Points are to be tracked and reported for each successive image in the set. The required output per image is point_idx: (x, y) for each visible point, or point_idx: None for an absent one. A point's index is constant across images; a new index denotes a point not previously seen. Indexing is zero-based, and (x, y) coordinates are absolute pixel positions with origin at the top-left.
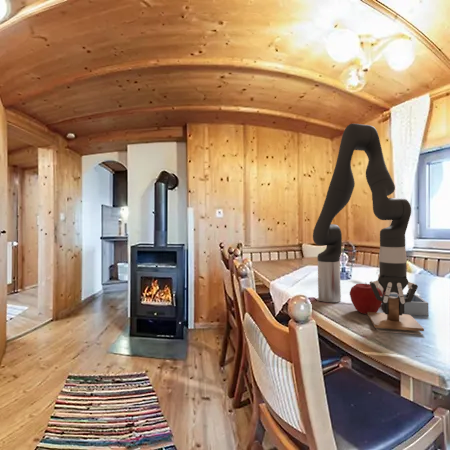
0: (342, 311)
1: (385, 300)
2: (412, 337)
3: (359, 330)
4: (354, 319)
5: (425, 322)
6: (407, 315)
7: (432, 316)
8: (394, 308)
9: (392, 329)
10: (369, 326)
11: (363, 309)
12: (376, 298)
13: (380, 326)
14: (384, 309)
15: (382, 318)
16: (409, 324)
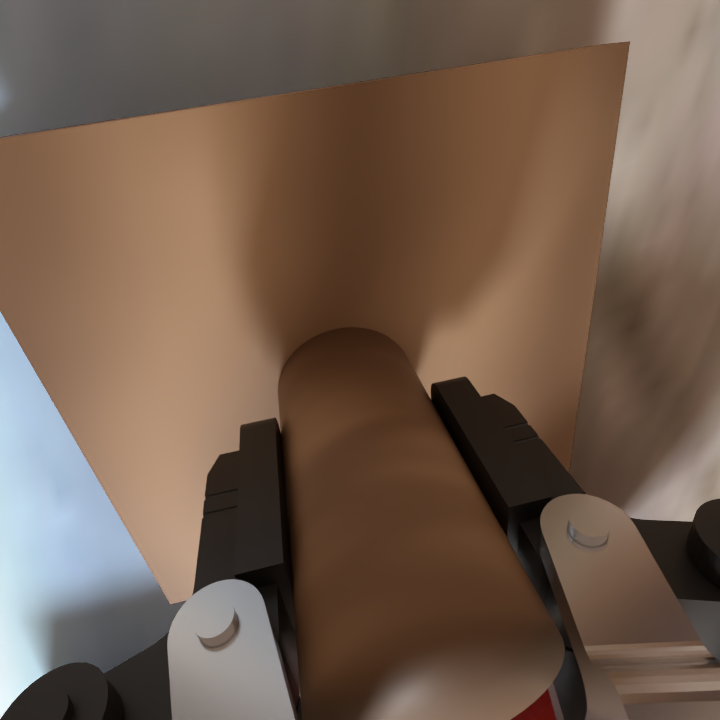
0: None
1: (597, 536)
2: (120, 54)
3: (698, 92)
4: (630, 411)
5: (54, 587)
6: (192, 572)
7: None
8: (373, 438)
9: None
10: None
11: None
12: (535, 702)
13: (543, 56)
14: (503, 424)
15: (462, 372)
16: (148, 273)
